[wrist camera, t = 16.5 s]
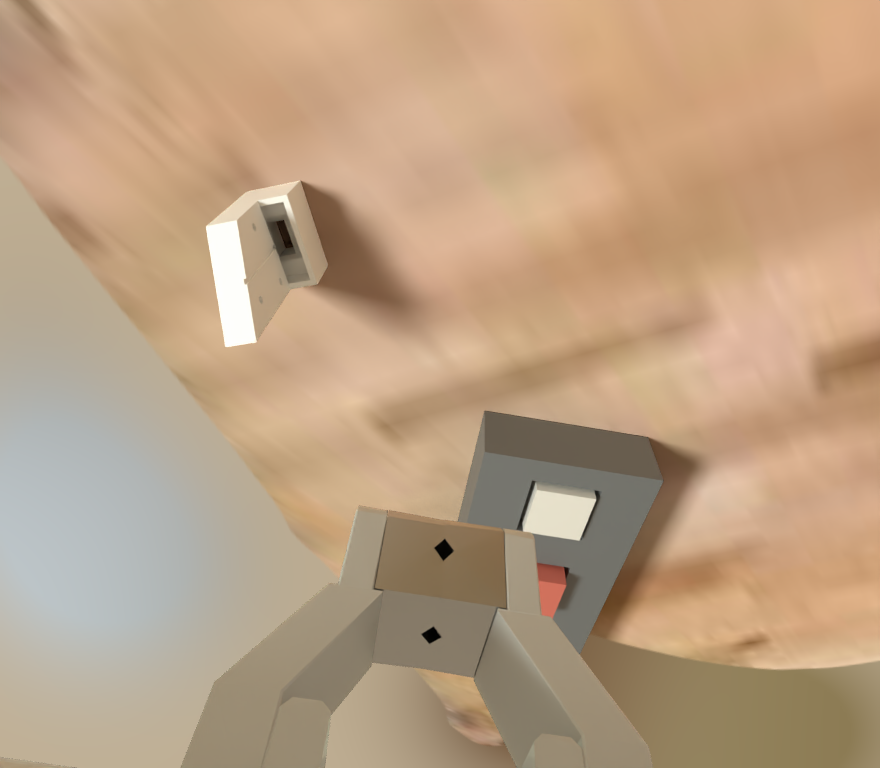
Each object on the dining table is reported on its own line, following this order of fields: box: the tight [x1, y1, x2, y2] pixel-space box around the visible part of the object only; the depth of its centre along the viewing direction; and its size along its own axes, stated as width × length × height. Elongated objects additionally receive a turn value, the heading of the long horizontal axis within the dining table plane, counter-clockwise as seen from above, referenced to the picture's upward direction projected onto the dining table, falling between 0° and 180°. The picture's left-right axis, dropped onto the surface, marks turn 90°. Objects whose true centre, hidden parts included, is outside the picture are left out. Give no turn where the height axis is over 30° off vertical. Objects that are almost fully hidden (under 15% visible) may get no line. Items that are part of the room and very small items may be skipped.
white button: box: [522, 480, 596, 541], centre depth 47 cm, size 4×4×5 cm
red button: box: [537, 563, 566, 619], centre depth 51 cm, size 4×4×5 cm
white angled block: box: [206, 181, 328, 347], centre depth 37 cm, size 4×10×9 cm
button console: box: [458, 411, 664, 655], centre depth 52 cm, size 13×26×5 cm, turn 171°
